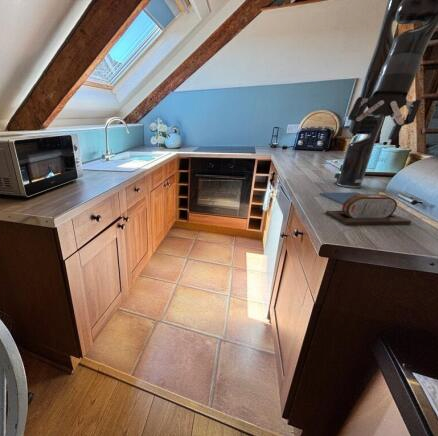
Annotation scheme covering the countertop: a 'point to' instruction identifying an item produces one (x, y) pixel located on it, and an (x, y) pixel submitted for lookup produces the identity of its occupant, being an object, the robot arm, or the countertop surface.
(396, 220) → the stand
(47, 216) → the countertop surface
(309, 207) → the countertop surface
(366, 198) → the tin
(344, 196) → the mat
